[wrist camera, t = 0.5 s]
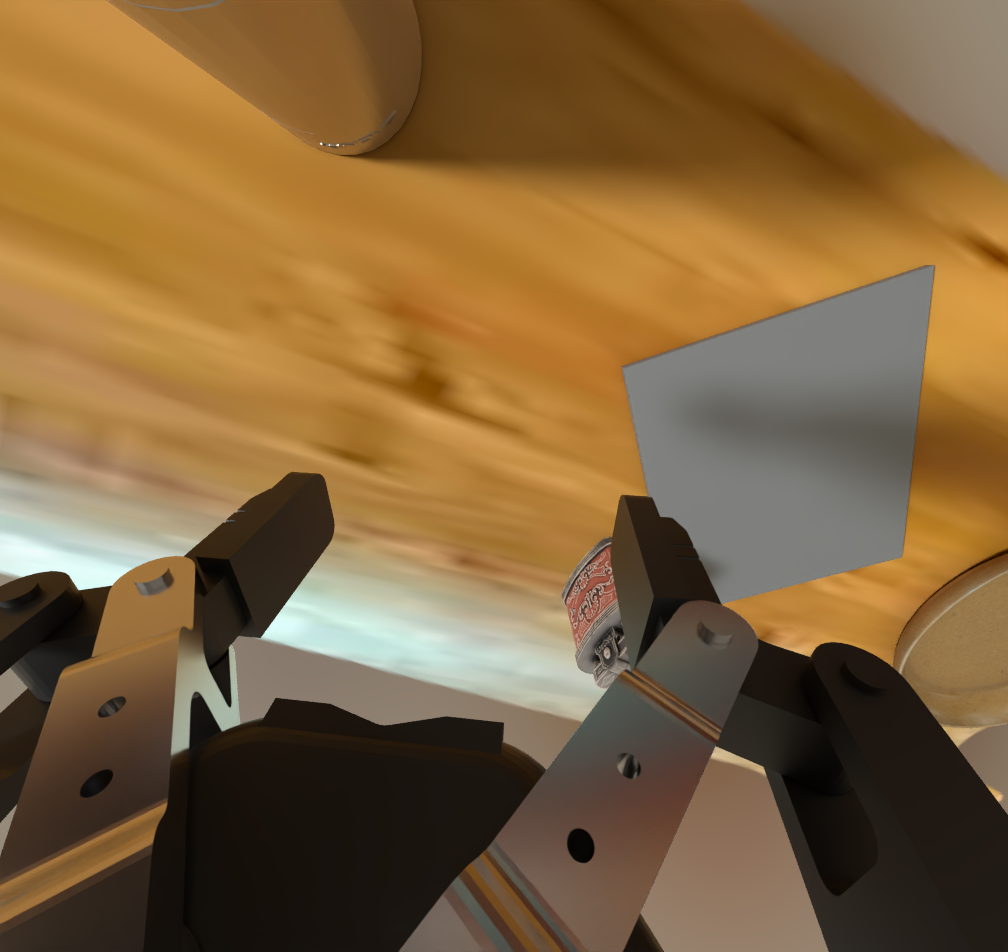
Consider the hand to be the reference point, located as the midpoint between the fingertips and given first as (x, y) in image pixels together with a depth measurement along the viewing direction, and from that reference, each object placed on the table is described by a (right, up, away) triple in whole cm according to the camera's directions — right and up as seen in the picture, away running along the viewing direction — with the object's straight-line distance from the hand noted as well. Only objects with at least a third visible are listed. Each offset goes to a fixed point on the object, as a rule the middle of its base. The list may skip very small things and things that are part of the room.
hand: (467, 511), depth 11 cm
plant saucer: (+50, -13, +30) cm, 60 cm away
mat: (+23, +1, +22) cm, 31 cm away
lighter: (+9, -8, +26) cm, 28 cm away
